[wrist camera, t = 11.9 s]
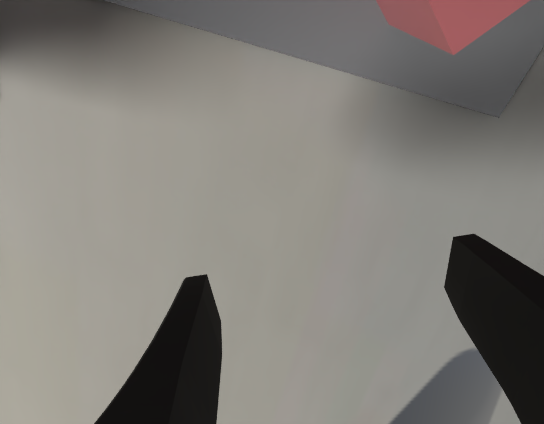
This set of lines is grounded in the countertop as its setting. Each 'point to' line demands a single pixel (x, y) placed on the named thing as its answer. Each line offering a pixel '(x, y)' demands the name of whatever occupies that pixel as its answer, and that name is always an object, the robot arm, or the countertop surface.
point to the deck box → (447, 19)
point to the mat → (374, 44)
